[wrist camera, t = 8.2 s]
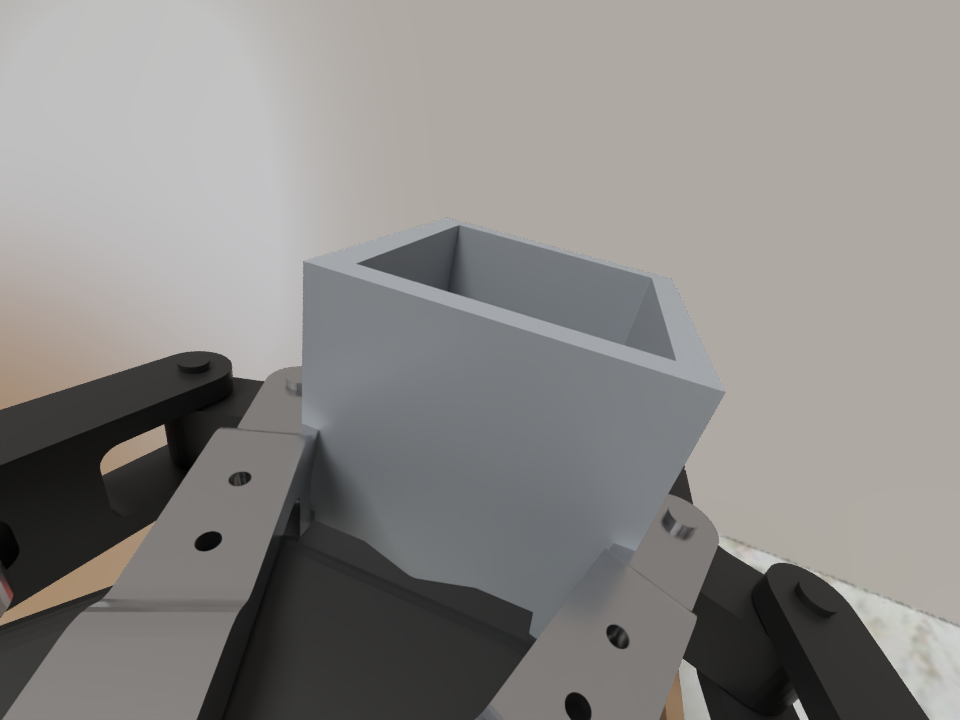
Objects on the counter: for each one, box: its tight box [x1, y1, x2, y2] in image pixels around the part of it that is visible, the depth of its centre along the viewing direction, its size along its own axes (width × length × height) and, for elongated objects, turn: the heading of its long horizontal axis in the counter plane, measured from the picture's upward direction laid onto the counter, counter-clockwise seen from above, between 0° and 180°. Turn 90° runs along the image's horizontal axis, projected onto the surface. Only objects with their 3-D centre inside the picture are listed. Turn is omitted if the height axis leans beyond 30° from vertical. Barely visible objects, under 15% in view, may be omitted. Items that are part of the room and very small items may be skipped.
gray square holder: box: [302, 218, 725, 639], centre depth 10 cm, size 6×6×10 cm
